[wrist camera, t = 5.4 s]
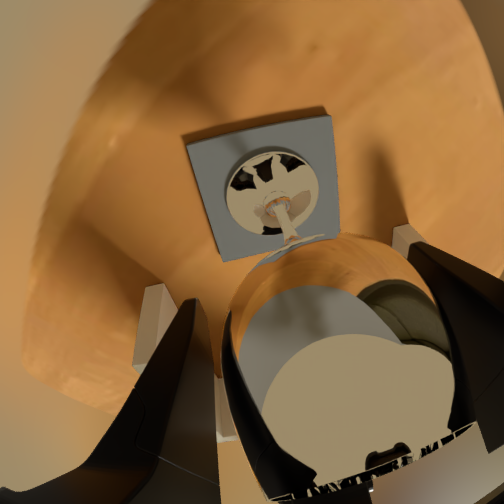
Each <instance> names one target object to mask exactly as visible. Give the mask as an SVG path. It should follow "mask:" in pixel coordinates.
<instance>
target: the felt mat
mask: <svg viewBox="0 0 504 504" xmlns="http://www.w3.org/2000/svg"><path fill="white" fill-rule="evenodd" d="M187 150H188V153H189V156H190V160H191V163H192V166H193V170H194V173H195V176H196V179H197V183H198V186H199V189H200V192H201V195H202V199H203V202H204V205H205V208H206V211H207V214H208V218H209V221H210V224H211V227H212V230H213V233H214V236H215V239H216V242H217V245H218V249H219V252H220V255H221V258H222V261H223V262H227V261H232V260H236V259H240V258H244V257H248V256H252V255H257V254H261V253H265V252H269V251H273V250H277V249H279V248H281V247H282V246H284V237H283V234H280V235H273V236H264V235H258V234H254V233H251V232H249V231H247V230H245V229H244V228H242V227H241V226H239V225H238V224H237V223H236V222H235V220H234V219H233V218H232V216H231V214H230V213H229V210H228V207H227V202H226V191H227V187H228V183H229V181H230V179H231V177H232V175H233V173H234V172H235V171H236V170H237V169H238V167H239V166H240V165H241V164H243V163H244V162H245V161H247V160H248V159H249V158H251V157H253V156H256V155H258V154H260V153H265V152H269V151H284V152H288V153H292V154H295V155H296V156H298V157H300V158H302V159H304V160H305V161H306V162H307V163H308V164H309V165H310V166H311V167H312V169H313V170H314V172H315V174H316V176H317V179H318V184H319V196H318V201H317V204H316V207H315V209H314V210H313V212H312V214H311V215H310V216H309V218H308V219H307V220H306V221H305V222H304V223H303V224H301V225H300V226H299V227H297V228H295V231H296V232H297V233H298V234H299V235H300V236H301V237H302V238H304V237H307V236H312V235H317V234H322V233H340V217H339V197H338V181H337V168H336V156H335V145H334V135H333V126H332V117H331V116H330V115H320V116H313V117H307V118H301V119H295V120H289V121H283V122H278V123H273V124H267V125H262V126H258V127H253V128H248V129H244V130H239V131H235V132H231V133H227V134H222V135H218V136H214V137H211V138H207V139H203V140H199V141H196V142H192V143H188V144H187Z"/></svg>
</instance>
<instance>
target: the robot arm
mask: <svg viewBox="0 0 504 504" xmlns="http://www.w3.org/2000/svg"><path fill="white" fill-rule="evenodd" d="M407 260H408V261H409V262H411V263H412V264H413V265H414V266H415V267H416V268H417V269H418V270H419V271H420V273H421V274H422V275H423V276H424V278H425V279H426V280H427V282H428V283H429V285H430V286H431V288H432V289H433V291H434V292H435V294H436V295H437V297H438V298H439V300H440V302H441V304H442V306H443V308H444V310H445V312H446V314H447V316H448V318H449V320H450V322H451V325H452V327H453V329H454V332H455V334H456V337H457V340H458V342H459V345H460V348H461V351H462V354H463V358H464V361H465V365H466V369H467V374H468V378H469V383H470V387H471V392H472V397H473V402H474V408H475V414H476V420H477V422H478V425H479V428H480V431H481V434H482V437H483V439H484V442H485V446H486V449H487V451H488V453H491V452H493V451H494V450H496V449H498V448H499V447H501V446H502V445H504V281H502V280H500V279H498V278H497V277H495V276H493V275H491V274H489V273H487V272H485V271H483V270H481V269H479V268H477V267H475V266H473V265H471V264H469V263H467V262H465V261H463V260H461V259H459V258H457V257H455V256H453V255H451V254H448V253H446V252H444V251H442V250H440V249H438V248H436V247H433V246H431V245H429V244H427V243H425V242H422V241H418V242H414V243H411V244H410V246H409V250H408V257H407ZM372 491H373V482H372V480H369V481H366V482H363V483H360V484H357V485H354V486H351V487H347V488H344V489H340V490H337V491H333V492H329V493H325V494H320V495H316V496H311V497H306V498H300V499H294V500H287V501H278V503H279V504H372V501H371V497H370V493H369V492H372ZM0 504H221V496H220V486H219V470H218V454H217V436H216V414H215V387H214V363H213V356H212V349H211V342H210V335H209V328H208V321H207V317H206V314H205V312H204V310H203V308H202V305H201V303H200V301H199V299H198V298H191V299H186V300H185V301H184V302H183V303H182V305H181V306H180V308H179V310H178V311H177V313H176V315H175V317H174V318H173V320H172V322H171V323H170V325H169V327H168V328H167V330H166V332H165V334H164V335H163V337H162V339H161V340H160V342H159V344H158V346H157V347H156V349H155V351H154V352H153V354H152V356H151V358H150V359H149V361H148V363H147V365H146V366H145V368H144V370H143V372H142V374H141V375H140V377H139V379H138V381H137V382H136V384H135V386H134V388H133V389H132V391H131V393H130V395H129V397H128V398H127V400H126V402H125V403H124V405H123V407H122V409H121V410H120V412H119V413H118V415H117V417H116V418H115V420H114V421H113V423H112V424H111V426H110V427H109V429H108V430H107V432H106V433H105V435H104V436H103V437H102V439H101V440H100V442H99V443H98V445H97V446H96V447H95V449H94V451H93V452H92V453H91V455H90V456H89V457H88V459H87V460H86V461H85V462H84V463H83V464H81V465H80V466H79V467H77V468H76V469H74V470H72V471H70V472H68V473H66V474H64V475H61V476H59V477H57V478H55V479H53V480H51V481H48V482H46V483H44V484H42V485H40V486H37V487H35V488H33V489H30V490H27V491H22V492H15V491H13V490H10V489H8V488H6V487H1V488H0ZM474 504H504V483H502V484H501V485H500V486H498V487H497V488H496V489H494V490H493V491H492V492H491V493H489V494H487V495H486V496H485V497H483V498H482V499H480V500H479V501H477V502H476V503H474Z"/></svg>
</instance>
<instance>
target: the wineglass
mask: <svg viewBox="0 0 504 504" xmlns="http://www.w3.org/2000/svg"><path fill="white" fill-rule="evenodd" d="M318 196H319V184H318V179H317V176H316V174H315V172H314V170H313V169H312V167H311V166H310V165H309V164H308V163H307V162H306V161H305V160H304V159H302V158H300V157H298V156H296V155H295V154H292V153H288V152H284V151H269V152H265V153H260V154H258V155H256V156H253V157H251V158H249V159H248V160H247V161H245V162H244V163H243V164H241V165H240V166H239V167H238V169H237V170H236V171H235V172H234V173H233V175H232V177H231V179H230V181H229V183H228V187H227V191H226V202H227V207H228V210H229V213H230V214H231V216H232V218H233V219H234V220H235V222H236V223H237V224H238V225H239V226H241V227H242V228H244V229H245V230H247V231H249V232H251V233H254V234H258V235H264V236H273V235H280V234H283V237H284V246H282V247H281V248H279V249H277V250H276V251H274V252H272V253H271V254H269V255H268V256H266V257H265V258H264V259H262V260H261V261H260V262H259V263H258V264H257V265H256V266H255V267H254V268H253V269H252V270H251V271H250V272H249V273H248V274H247V275H246V276H245V278H244V279H243V280H242V282H241V283H240V284H239V286H238V287H237V289H236V291H235V293H234V295H233V297H232V299H231V301H230V303H229V306H228V309H227V312H226V315H225V319H224V322H223V330H222V338H221V370H222V377H223V385H224V390H225V395H226V400H227V403H228V407H229V411H230V414H231V418H232V421H233V424H234V427H235V431H236V434H237V437H238V439H239V441H240V444H241V446H242V449H243V451H244V454H245V456H246V459H247V462H248V464H249V467H250V469H251V472H252V473H253V476H254V478H255V480H256V482H257V483H258V486H259V488H260V490H261V492H262V493H263V495H264V497H265V499H266V501H267V502H277V501H287V500H294V499H300V498H306V497H311V496H316V495H320V494H325V493H329V492H333V491H337V490H340V489H344V488H347V487H351V486H354V485H357V484H360V483H363V482H366V481H369V480H372V479H374V478H377V477H379V476H382V475H385V474H387V473H390V472H392V471H395V470H397V469H399V468H401V467H404V466H406V465H408V464H410V463H412V462H414V461H416V460H418V459H420V458H422V457H424V456H426V455H428V454H430V453H432V452H434V451H435V450H437V449H439V448H441V447H442V446H444V445H446V444H447V443H449V442H451V441H452V440H454V439H455V438H457V437H458V436H460V435H461V434H463V433H464V432H465V431H467V430H468V429H469V428H471V427H472V426H473V425H474V424H475V423H476V422H477V420H476V414H475V408H474V402H473V397H472V392H471V387H470V383H469V378H468V374H467V369H466V365H465V361H464V358H463V354H462V351H461V348H460V345H459V342H458V340H457V337H456V334H455V332H454V329H453V327H452V325H451V322H450V320H449V318H448V316H447V314H446V312H445V310H444V308H443V306H442V304H441V302H440V300H439V298H438V297H437V295H436V294H435V292H434V291H433V289H432V288H431V286H430V285H429V283H428V282H427V280H426V279H425V278H424V276H423V275H422V274H421V273H420V271H419V270H418V269H417V268H416V267H415V266H414V265H413V264H412V263H411V262H409V261H408V260H407V259H406V258H405V257H404V256H403V255H402V254H400V253H399V252H398V251H397V250H395V249H394V248H392V247H390V246H389V245H387V244H386V243H384V242H381V241H379V240H376V239H374V238H372V237H368V236H365V235H360V234H354V233H348V232H343V233H322V234H317V235H312V236H307V237H304V238H302V237H301V236H300V235H299V234H298V233H297V232H296V231H295V228H297V227H299V226H300V225H301V224H303V223H304V222H305V221H306V220H307V219H308V218H309V216H310V215H311V214H312V212H313V210H314V209H315V207H316V204H317V201H318Z"/></svg>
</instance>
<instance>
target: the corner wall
mask: <svg viewBox="0 0 504 504" xmlns="http://www.w3.org/2000/svg"><path fill="white" fill-rule="evenodd" d="M418 241H422V242H425V243H427V242H426V240H425V239H424V238H423V237H422V236H421V235H420V234H419V233H418V232H417V231H416V230H415V229H414V228H413V227H412V226H411V225H410V224H405V225H402V226H398V227H394V229H393V239H392V248H394V249H395V250H397V251H398V252H399V253H400V254H402V255H403V256H404V257H405V258H406V259H407V257H408V250H409V246H410V244H411V243H414V242H418ZM427 244H428V243H427ZM177 311H178V309H177V307H176V305H175V303H174V301H173V300H172V298H171V296H170V294H169V292H168V290H167V288H166V286H165V284H164V283H162V284H157V285H153V286H149V287H145V292H144V297H143V302H142V308H141V313H140V318H139V324H138V330H137V336H136V342H135V348H134V355H133V362H132V366H133V367H134V368H135V369H136V371H137V372H138V373H139V374H140V375H141V374H142V372H143V370H144V368H145V366H146V365H147V363H148V361H149V359H150V358H151V356H152V354H153V352H154V351H155V349H156V347H157V346H158V344H159V342H160V340H161V339H162V337H163V335H164V334H165V332H166V330H167V328H168V327H169V325H170V323H171V322H172V320H173V318H174V317H175V315H176V313H177ZM214 387H215V414H216V436H217V443H219V442H227V441H235V440H239V439H238V437H237V434H236V431H235V427H234V424H233V421H232V418H231V414H230V411H229V407H228V403H227V400H226V395H225V390H224V385H223V378H220V379H218V378H217V376H216V375H215V373H214Z"/></svg>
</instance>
